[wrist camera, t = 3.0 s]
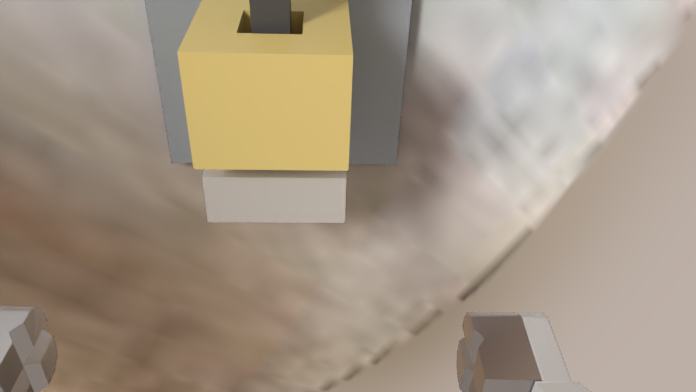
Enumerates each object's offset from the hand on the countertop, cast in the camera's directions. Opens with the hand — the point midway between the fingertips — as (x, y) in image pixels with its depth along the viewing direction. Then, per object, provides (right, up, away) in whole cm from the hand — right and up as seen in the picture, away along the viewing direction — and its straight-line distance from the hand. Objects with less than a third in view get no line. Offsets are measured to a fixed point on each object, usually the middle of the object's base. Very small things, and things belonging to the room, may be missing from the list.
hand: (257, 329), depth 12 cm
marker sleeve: (-1, +8, +11) cm, 13 cm away
